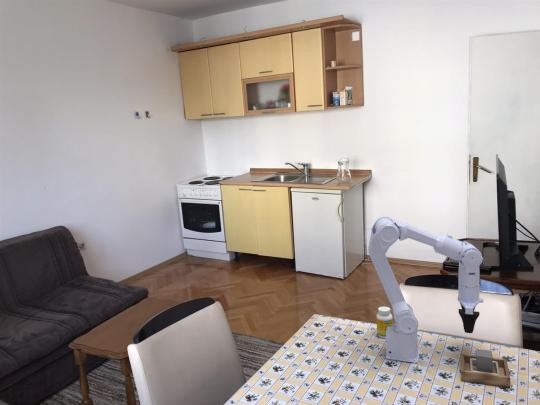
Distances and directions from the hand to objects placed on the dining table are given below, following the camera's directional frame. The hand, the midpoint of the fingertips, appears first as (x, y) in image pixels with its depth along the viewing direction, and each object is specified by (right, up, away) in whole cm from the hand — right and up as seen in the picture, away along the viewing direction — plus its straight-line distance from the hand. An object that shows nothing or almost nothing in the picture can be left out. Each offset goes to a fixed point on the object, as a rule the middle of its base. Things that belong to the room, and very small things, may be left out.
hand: (468, 326), depth 136 cm
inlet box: (0, -11, -9) cm, 14 cm away
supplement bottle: (-21, -8, +18) cm, 29 cm away
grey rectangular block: (0, -11, -9) cm, 14 cm away
